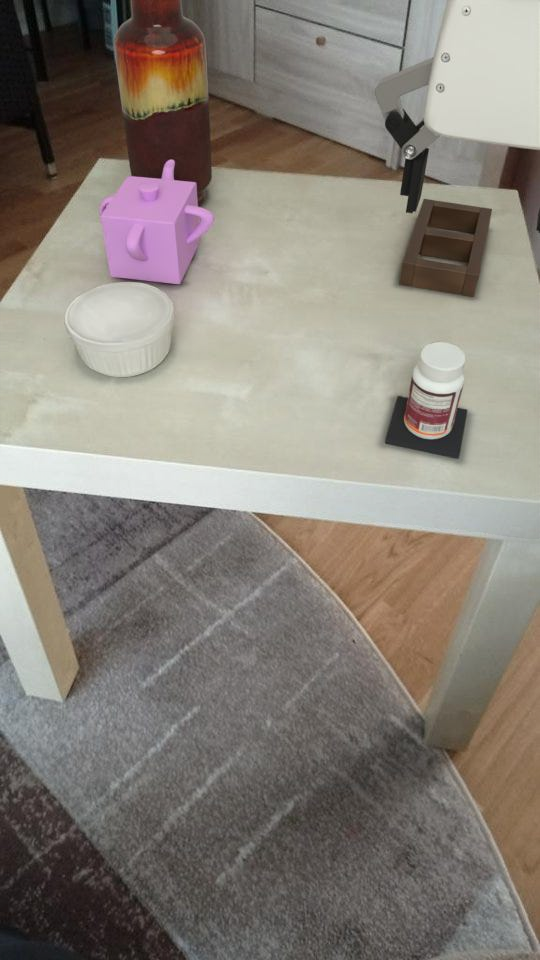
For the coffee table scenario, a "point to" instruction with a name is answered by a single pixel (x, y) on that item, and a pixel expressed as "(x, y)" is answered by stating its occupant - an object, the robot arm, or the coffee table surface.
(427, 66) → the robot arm
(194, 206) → the teapot
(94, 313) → the ramekin
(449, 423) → the pill bottle
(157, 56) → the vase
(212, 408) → the coffee table surface
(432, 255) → the holder
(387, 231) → the coffee table surface
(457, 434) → the mat
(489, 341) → the coffee table surface
